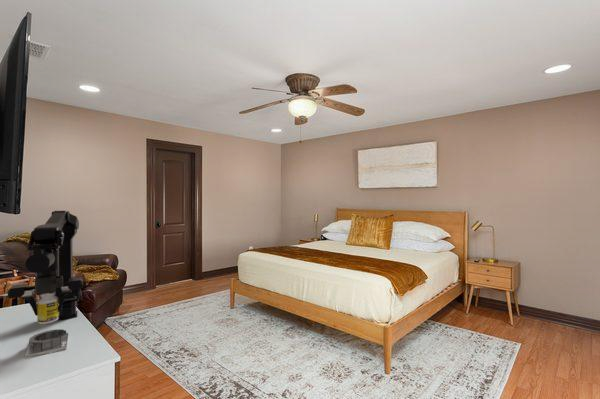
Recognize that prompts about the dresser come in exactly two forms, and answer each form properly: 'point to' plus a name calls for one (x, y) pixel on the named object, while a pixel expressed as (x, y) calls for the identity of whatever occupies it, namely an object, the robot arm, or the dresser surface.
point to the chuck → (47, 342)
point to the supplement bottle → (47, 308)
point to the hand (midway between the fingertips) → (48, 313)
